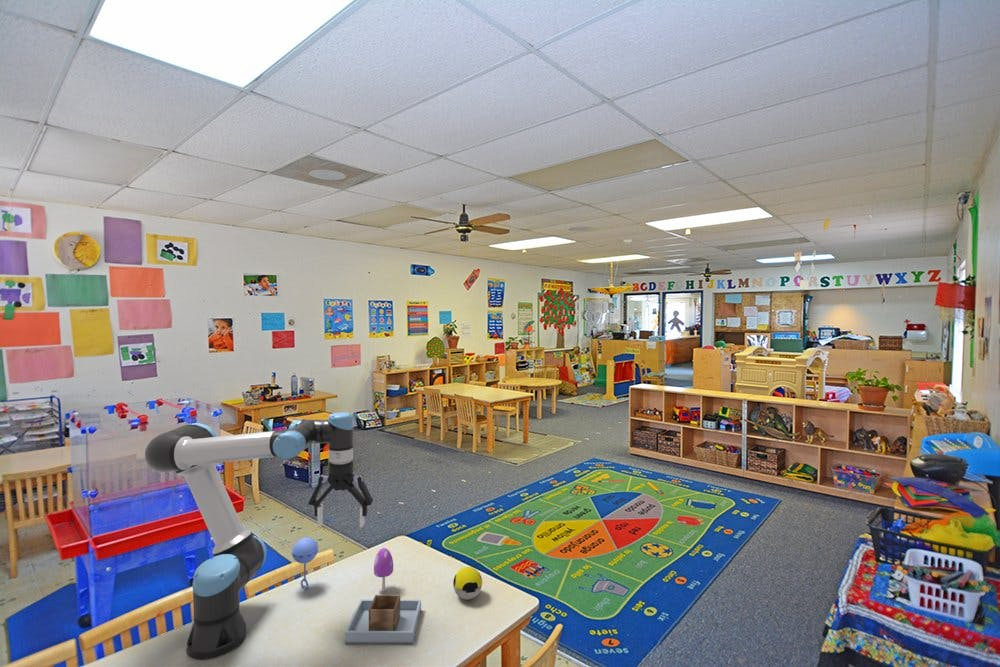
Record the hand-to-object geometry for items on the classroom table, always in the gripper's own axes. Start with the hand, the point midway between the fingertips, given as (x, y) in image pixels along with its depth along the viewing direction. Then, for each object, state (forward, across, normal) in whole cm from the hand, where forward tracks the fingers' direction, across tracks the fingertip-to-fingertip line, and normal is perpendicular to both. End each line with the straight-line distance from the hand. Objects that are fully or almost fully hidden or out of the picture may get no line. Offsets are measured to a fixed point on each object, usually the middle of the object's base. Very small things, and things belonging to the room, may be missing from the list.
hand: (341, 525), depth 151 cm
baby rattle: (+29, -17, +13) cm, 36 cm away
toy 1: (+29, +11, +12) cm, 33 cm away
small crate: (+28, +16, -7) cm, 33 cm away
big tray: (+29, +16, -7) cm, 34 cm away
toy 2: (+29, +41, +8) cm, 51 cm away
